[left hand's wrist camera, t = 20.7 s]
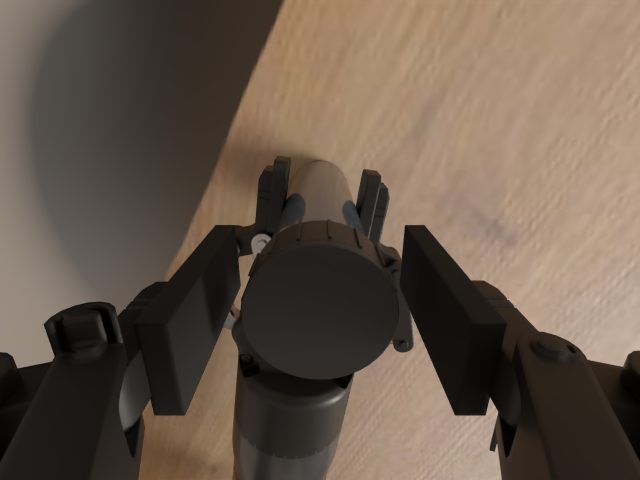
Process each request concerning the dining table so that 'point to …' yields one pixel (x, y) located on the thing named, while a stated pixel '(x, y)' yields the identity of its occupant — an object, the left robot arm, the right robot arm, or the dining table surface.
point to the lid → (319, 301)
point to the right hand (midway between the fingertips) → (327, 167)
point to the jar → (319, 197)
